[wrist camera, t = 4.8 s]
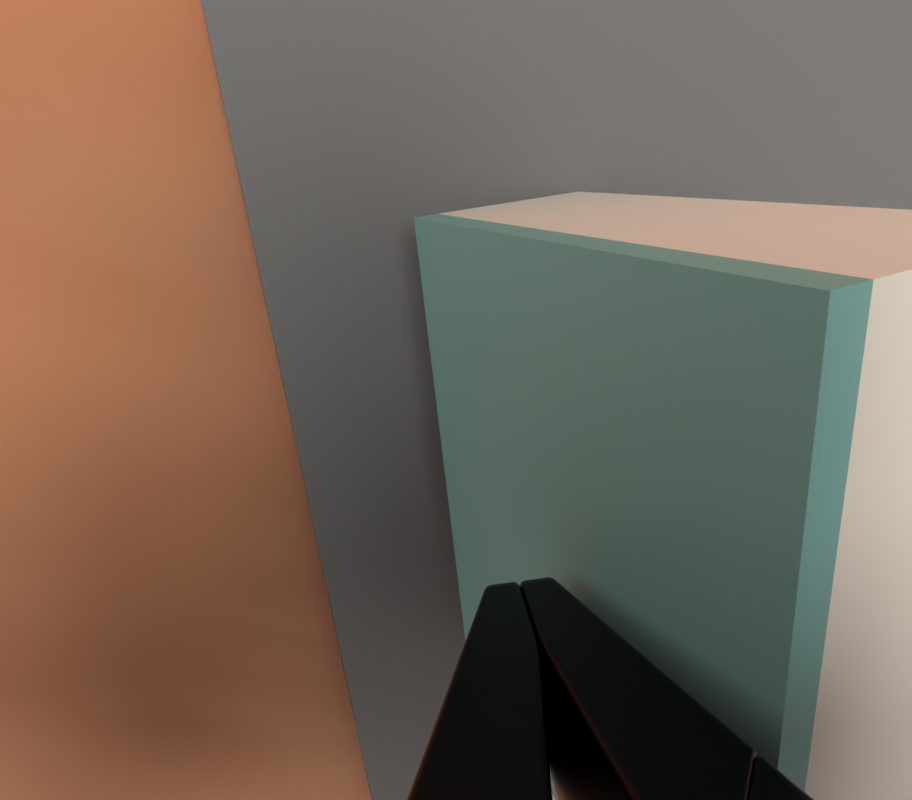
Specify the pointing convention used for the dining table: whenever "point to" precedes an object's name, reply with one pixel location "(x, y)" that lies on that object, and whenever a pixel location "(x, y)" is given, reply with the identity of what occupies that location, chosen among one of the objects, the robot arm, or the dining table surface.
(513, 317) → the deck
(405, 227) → the mat
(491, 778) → the robot arm
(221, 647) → the dining table surface
